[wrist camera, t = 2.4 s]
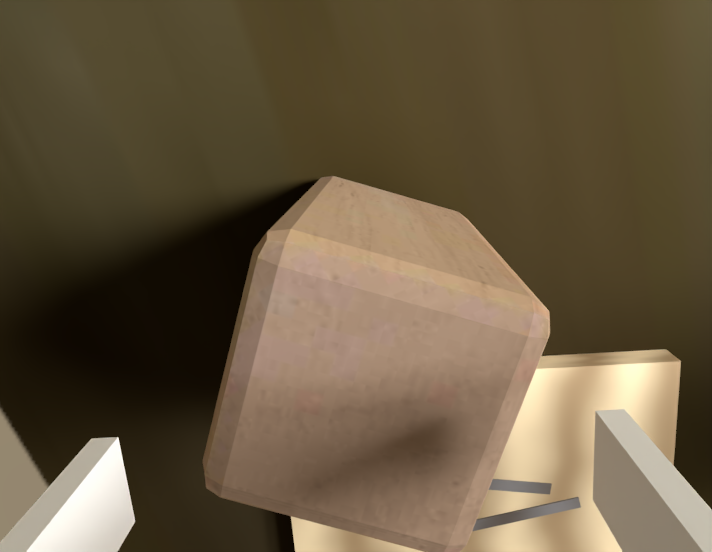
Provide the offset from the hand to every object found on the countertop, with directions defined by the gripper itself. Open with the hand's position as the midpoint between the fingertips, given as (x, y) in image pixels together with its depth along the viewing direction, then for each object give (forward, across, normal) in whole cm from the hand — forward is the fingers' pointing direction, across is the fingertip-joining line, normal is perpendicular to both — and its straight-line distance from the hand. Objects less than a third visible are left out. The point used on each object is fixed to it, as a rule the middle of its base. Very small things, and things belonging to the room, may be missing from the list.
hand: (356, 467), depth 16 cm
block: (+23, 0, 0) cm, 23 cm away
